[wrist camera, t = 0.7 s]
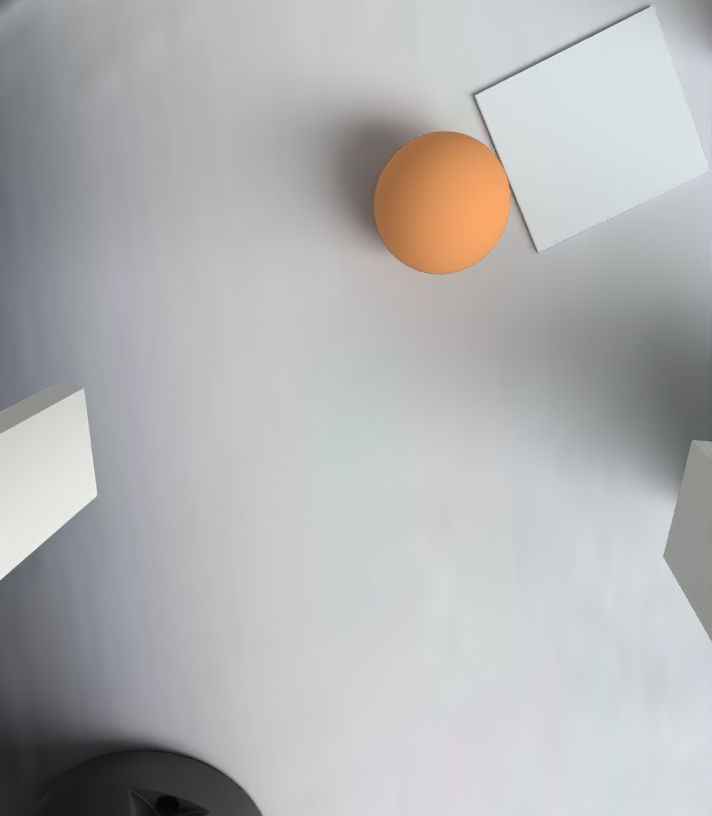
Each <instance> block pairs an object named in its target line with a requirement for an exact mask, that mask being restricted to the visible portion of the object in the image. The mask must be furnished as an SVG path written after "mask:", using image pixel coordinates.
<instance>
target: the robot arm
mask: <svg viewBox="0 0 712 816" xmlns="http://www.w3.org/2000/svg"><path fill="white" fill-rule="evenodd" d="M96 496H97V489H96V481H95V473H94V465H93V457H92V449H91V441H90V433H89V425H88V417H87V409H86V401H85V393H84V388H77V387H66V386H54V385H53V386H51V387H49V388H47V389H45V390H43V391H41V392H39V393H37V394H34V395H32V396H30V397H28V398H26V399H24V400H22V401H20V402H18V403H16V404H14V405H12V406H10V407H8V408H6V409H4V410H2V411H0V580H1V579H2V578H3V577H4V576H5V575H7V574H8V573H9V572H10V571H11V570H12V569H13V568H15V567H16V566H17V565H18V564H19V563H20V562H21V561H23V560H24V559H25V558H26V557H27V556H28V555H29V554H31V553H32V552H33V551H34V550H35V549H36V548H37V547H39V546H40V545H41V544H42V543H43V542H44V541H46V540H47V539H48V538H49V537H50V536H51V535H52V534H54V533H55V532H56V531H57V530H58V529H59V528H60V527H62V526H63V525H64V524H65V523H66V522H67V521H68V520H70V519H71V518H72V517H73V516H74V515H75V514H76V513H78V512H79V511H80V510H81V509H82V508H83V507H85V506H86V505H87V504H88V503H89V502H90V501H91V500H93V499H94V498H95V497H96ZM663 557H664V559H665V561H666V562H667V564H668V566H669V568H670V569H671V571H672V573H673V574H674V576H675V578H676V580H677V581H678V583H679V585H680V587H681V588H682V590H683V592H684V594H685V595H686V597H687V599H688V601H689V602H690V604H691V606H692V608H693V609H694V611H695V613H696V615H697V616H698V618H699V620H700V622H701V623H702V625H703V627H704V629H705V630H706V632H707V634H708V635H709V637H710V639H711V641H712V442H711V441H699V440H692V442H691V446H690V450H689V454H688V458H687V462H686V466H685V471H684V475H683V479H682V483H681V487H680V491H679V495H678V499H677V503H676V507H675V511H674V515H673V519H672V523H671V527H670V531H669V535H668V539H667V544H666V548H665V552H664V556H663ZM30 816H262V815H261V813H260V812H259V810H258V809H257V807H256V806H255V804H254V803H253V802H252V800H251V799H250V798H249V797H248V796H247V795H246V793H245V792H244V791H243V790H242V789H241V788H239V787H238V786H237V785H236V784H235V783H234V782H232V781H231V780H230V779H229V778H227V777H226V776H224V775H223V774H221V773H220V772H218V771H216V770H215V769H213V768H211V767H209V766H207V765H205V764H202V763H200V762H198V761H195V760H192V759H189V758H186V757H183V756H179V755H174V754H170V753H163V752H154V751H130V752H121V753H115V754H111V755H106V756H103V757H99V758H96V759H93V760H91V761H88V762H86V763H84V764H82V765H80V766H78V767H76V768H74V769H72V770H71V771H69V772H68V773H66V774H65V775H63V776H62V777H61V778H60V779H58V780H57V781H56V782H55V783H54V784H53V785H52V786H51V787H50V788H49V789H48V790H47V791H46V792H45V793H44V795H43V796H42V797H41V799H40V800H39V802H38V803H37V805H36V806H35V808H34V810H33V811H32V813H31V815H30Z"/></svg>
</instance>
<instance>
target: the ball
mask: <svg viewBox="0 0 712 816" xmlns="http://www.w3.org/2000/svg"><path fill="white" fill-rule="evenodd" d="M510 201H511V198H510V188H509V183H508V179H507V176H506V173H505V171H504V169H503V167H502V165H501V163H500V162H499V160H498V159H497V157H496V156H495V155H494V154H493V152H492V151H491V150H490V149H489V148H487V147H486V146H485V145H484V144H482V143H481V142H479V141H478V140H476V139H474V138H472V137H470V136H468V135H464V134H461V133H456V132H435V133H430V134H426V135H423V136H420V137H418V138H415V139H413V140H412V141H410V142H408V143H407V144H405V145H404V146H403V147H402V148H400V149H399V150H398V151H397V152H396V153H395V154H394V155H393V156H392V158H391V159H390V160H389V162H388V163H387V164H386V166H385V168H384V169H383V171H382V173H381V175H380V178H379V180H378V183H377V186H376V190H375V196H374V215H375V221H376V225H377V229H378V231H379V234H380V236H381V238H382V240H383V242H384V244H385V245H386V247H387V248H388V249H389V251H390V252H391V253H392V254H393V255H394V256H395V257H396V258H397V259H398V260H400V261H401V262H402V263H404V264H405V265H407V266H409V267H411V268H413V269H415V270H418V271H421V272H424V273H430V274H449V273H454V272H458V271H461V270H464V269H466V268H468V267H470V266H472V265H474V264H475V263H477V262H479V261H480V260H481V259H483V258H484V257H485V256H486V255H487V254H488V253H489V252H490V251H491V250H492V249H493V247H494V246H495V245H496V244H497V242H498V240H499V239H500V237H501V235H502V233H503V231H504V229H505V227H506V224H507V220H508V217H509V212H510Z"/></svg>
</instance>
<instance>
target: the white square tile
mask: <svg viewBox="0 0 712 816" xmlns="http://www.w3.org/2000/svg"><path fill="white" fill-rule="evenodd" d="M474 97H475V100H476V102H477V105H478V107H479V109H480V112H481V114H482V117H483V119H484V122H485V124H486V127H487V129H488V132H489V134H490V137H491V139H492V142H493V144H494V146H495V149H496V151H497V154H498V156H499V159H500V161H501V164H502V166H503V169H504V171H505V173H506V176H507V179H508V181H509V184H510V186H511V188H512V191H513V193H514V196H515V198H516V201H517V203H518V206H519V208H520V211H521V213H522V216H523V218H524V221H525V223H526V225H527V228H528V230H529V233H530V235H531V238H532V240H533V243H534V245H535V248H536V250H537V253H539V252H541V251H543V250H545V249H547V248H549V247H551V246H553V245H555V244H557V243H560V242H562V241H564V240H566V239H568V238H570V237H572V236H574V235H576V234H578V233H580V232H582V231H585V230H587V229H589V228H591V227H593V226H595V225H597V224H599V223H601V222H603V221H605V220H607V219H610V218H612V217H614V216H616V215H618V214H620V213H622V212H624V211H626V210H628V209H630V208H632V207H635V206H637V205H639V204H641V203H643V202H645V201H647V200H649V199H651V198H653V197H655V196H657V195H660V194H662V193H664V192H666V191H668V190H670V189H672V188H674V187H676V186H678V185H680V184H682V183H685V182H687V181H689V180H691V179H693V178H695V177H697V176H699V175H701V174H703V173H705V172H707V171H710V170H709V167H708V164H707V161H706V158H705V155H704V152H703V149H702V146H701V143H700V140H699V137H698V134H697V131H696V129H695V126H694V123H693V120H692V117H691V114H690V111H689V108H688V105H687V102H686V99H685V96H684V93H683V90H682V87H681V85H680V82H679V79H678V76H677V73H676V70H675V67H674V64H673V61H672V58H671V55H670V52H669V49H668V46H667V43H666V41H665V38H664V35H663V32H662V29H661V26H660V23H659V20H658V17H657V14H656V11H655V8H654V5H653V6H651V7H649V8H647V9H645V10H643V11H641V12H639V13H637V14H635V15H633V16H631V17H629V18H627V19H625V20H623V21H621V22H619V23H617V24H615V25H613V26H611V27H609V28H608V29H606V30H604V31H602V32H600V33H598V34H596V35H594V36H592V37H590V38H588V39H586V40H584V41H582V42H580V43H578V44H576V45H574V46H572V47H570V48H568V49H566V50H564V51H562V52H560V53H558V54H556V55H554V56H552V57H550V58H548V59H546V60H544V61H542V62H540V63H538V64H536V65H534V66H532V67H530V68H528V69H526V70H524V71H522V72H520V73H518V74H516V75H514V76H512V77H510V78H508V79H507V80H505V81H503V82H501V83H499V84H497V85H495V86H493V87H491V88H489V89H487V90H485V91H483V92H481V93H479V94H477V95H475V96H474Z"/></svg>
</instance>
